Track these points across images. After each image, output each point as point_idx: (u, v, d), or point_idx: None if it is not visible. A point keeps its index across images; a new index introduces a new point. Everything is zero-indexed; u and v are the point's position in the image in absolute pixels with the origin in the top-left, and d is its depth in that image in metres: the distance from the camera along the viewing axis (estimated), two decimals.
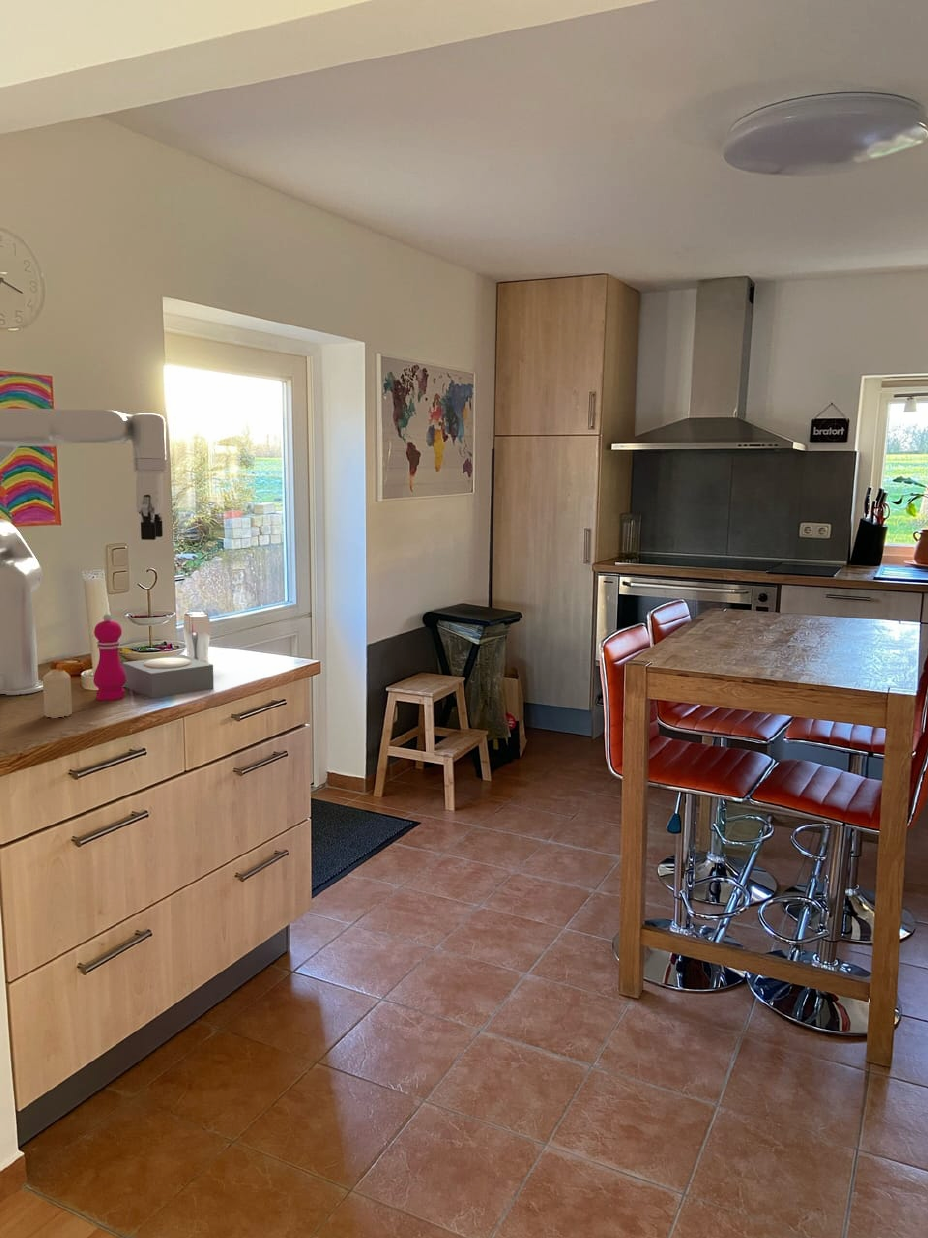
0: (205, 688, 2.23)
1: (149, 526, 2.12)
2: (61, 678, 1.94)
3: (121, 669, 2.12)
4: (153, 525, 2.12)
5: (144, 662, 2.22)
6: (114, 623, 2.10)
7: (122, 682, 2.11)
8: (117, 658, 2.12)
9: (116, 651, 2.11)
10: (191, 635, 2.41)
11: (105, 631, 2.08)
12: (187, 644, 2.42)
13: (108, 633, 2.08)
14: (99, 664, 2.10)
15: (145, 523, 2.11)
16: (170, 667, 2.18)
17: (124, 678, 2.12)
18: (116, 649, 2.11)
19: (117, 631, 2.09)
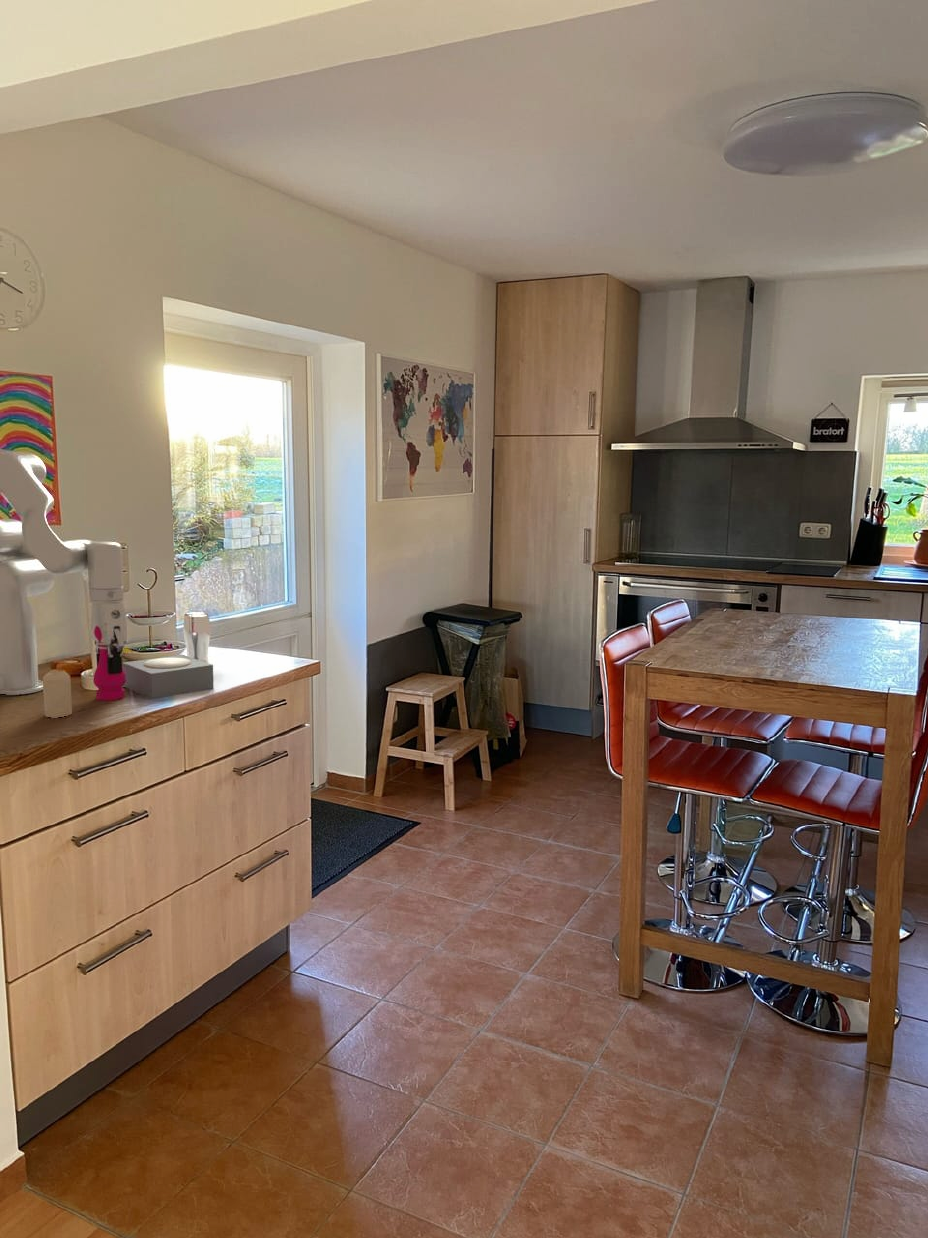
0: (205, 688, 2.23)
1: None
2: (61, 678, 1.94)
3: None
4: None
5: (144, 662, 2.22)
6: None
7: (122, 682, 2.11)
8: None
9: None
10: (191, 635, 2.41)
11: None
12: (187, 644, 2.42)
13: None
14: (99, 664, 2.10)
15: None
16: (170, 667, 2.18)
17: (124, 678, 2.12)
18: None
19: None
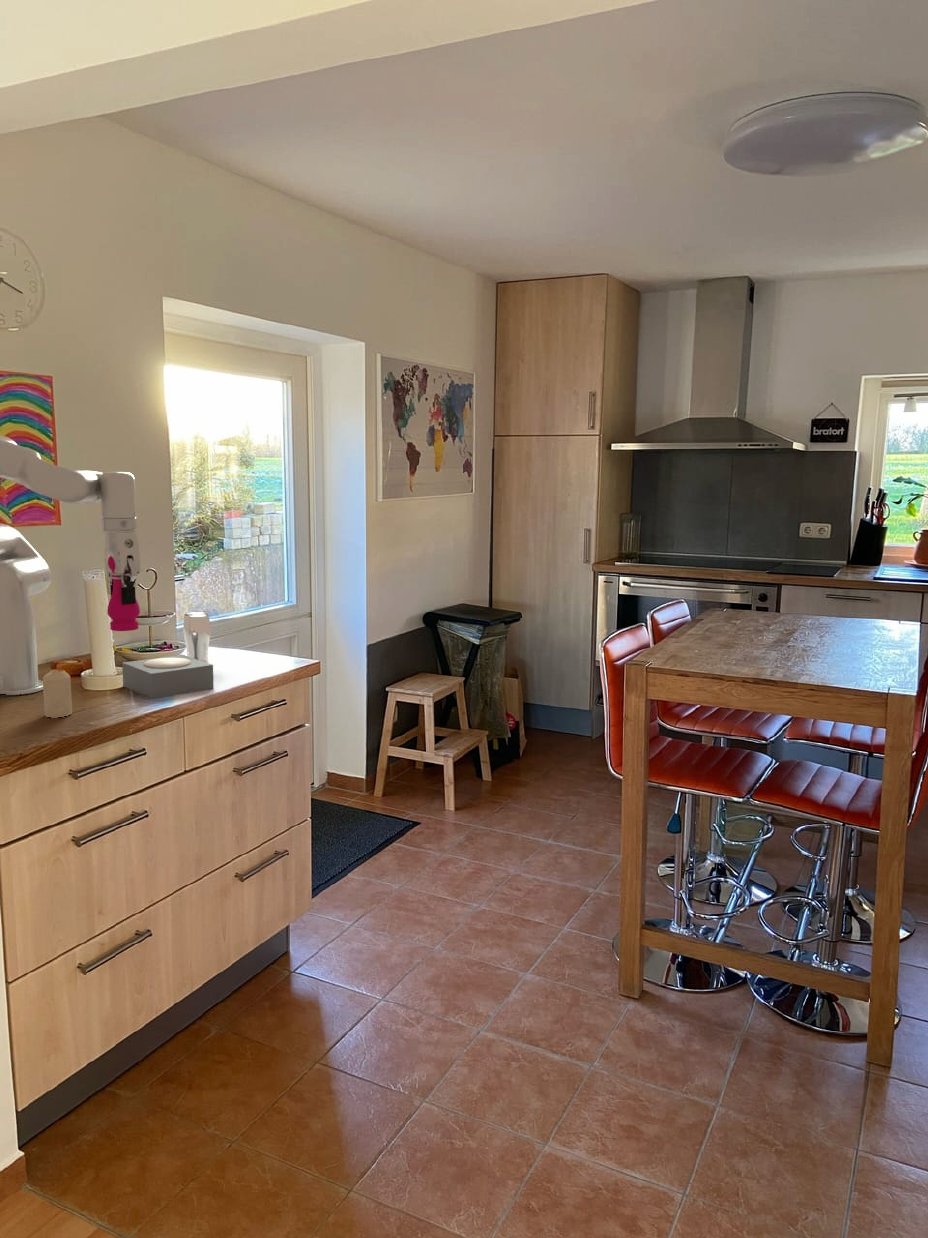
0: (205, 688, 2.23)
1: None
2: (61, 678, 1.94)
3: None
4: None
5: (144, 662, 2.22)
6: None
7: (136, 613, 2.12)
8: None
9: None
10: (191, 635, 2.41)
11: None
12: (187, 644, 2.42)
13: None
14: (113, 595, 2.10)
15: None
16: (170, 667, 2.18)
17: (138, 609, 2.12)
18: None
19: None
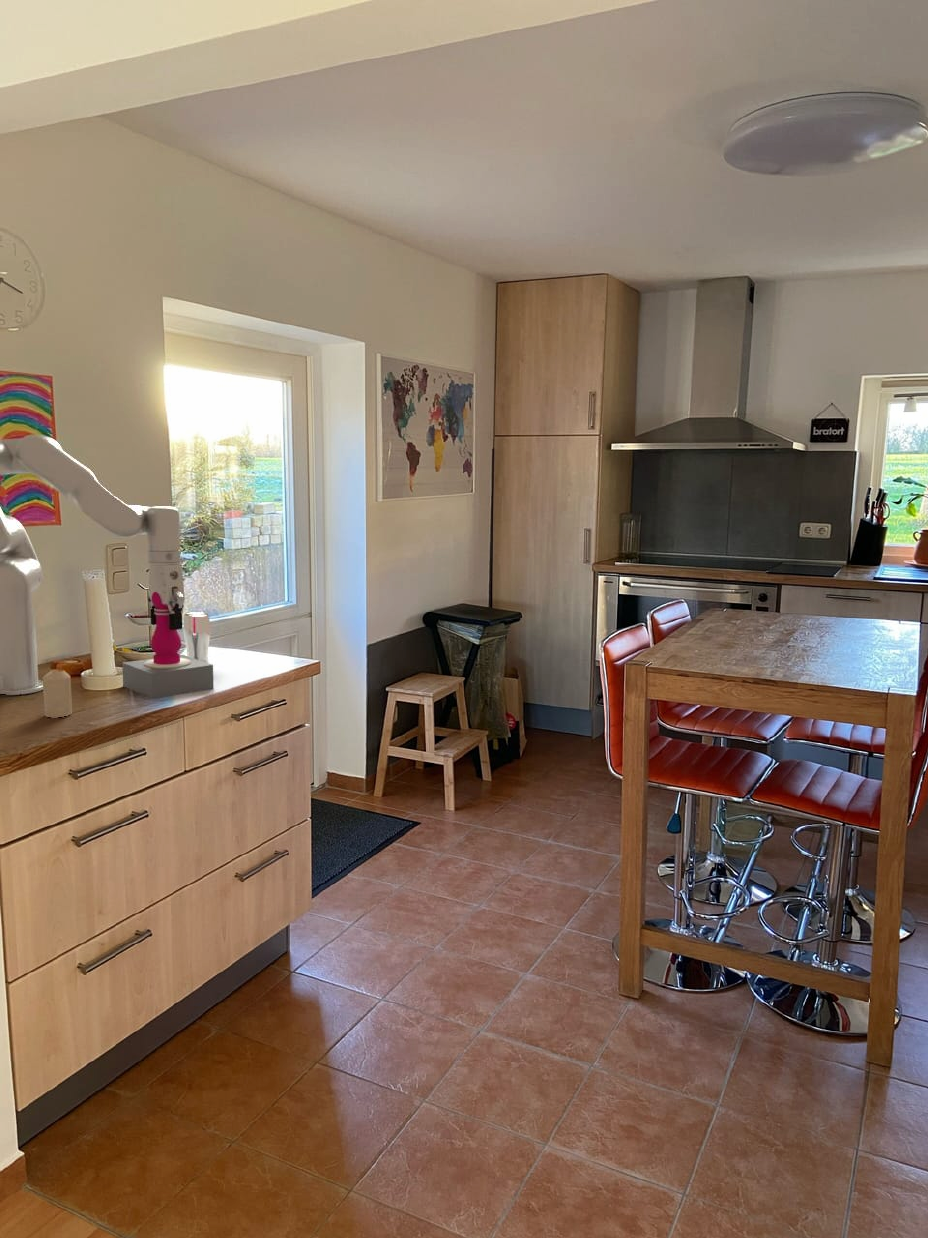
0: (205, 688, 2.23)
1: None
2: (61, 678, 1.94)
3: (177, 634, 2.22)
4: None
5: (144, 662, 2.22)
6: None
7: (178, 647, 2.21)
8: None
9: None
10: (191, 635, 2.41)
11: None
12: (187, 644, 2.42)
13: None
14: (156, 630, 2.20)
15: None
16: (170, 667, 2.18)
17: (180, 643, 2.22)
18: None
19: None
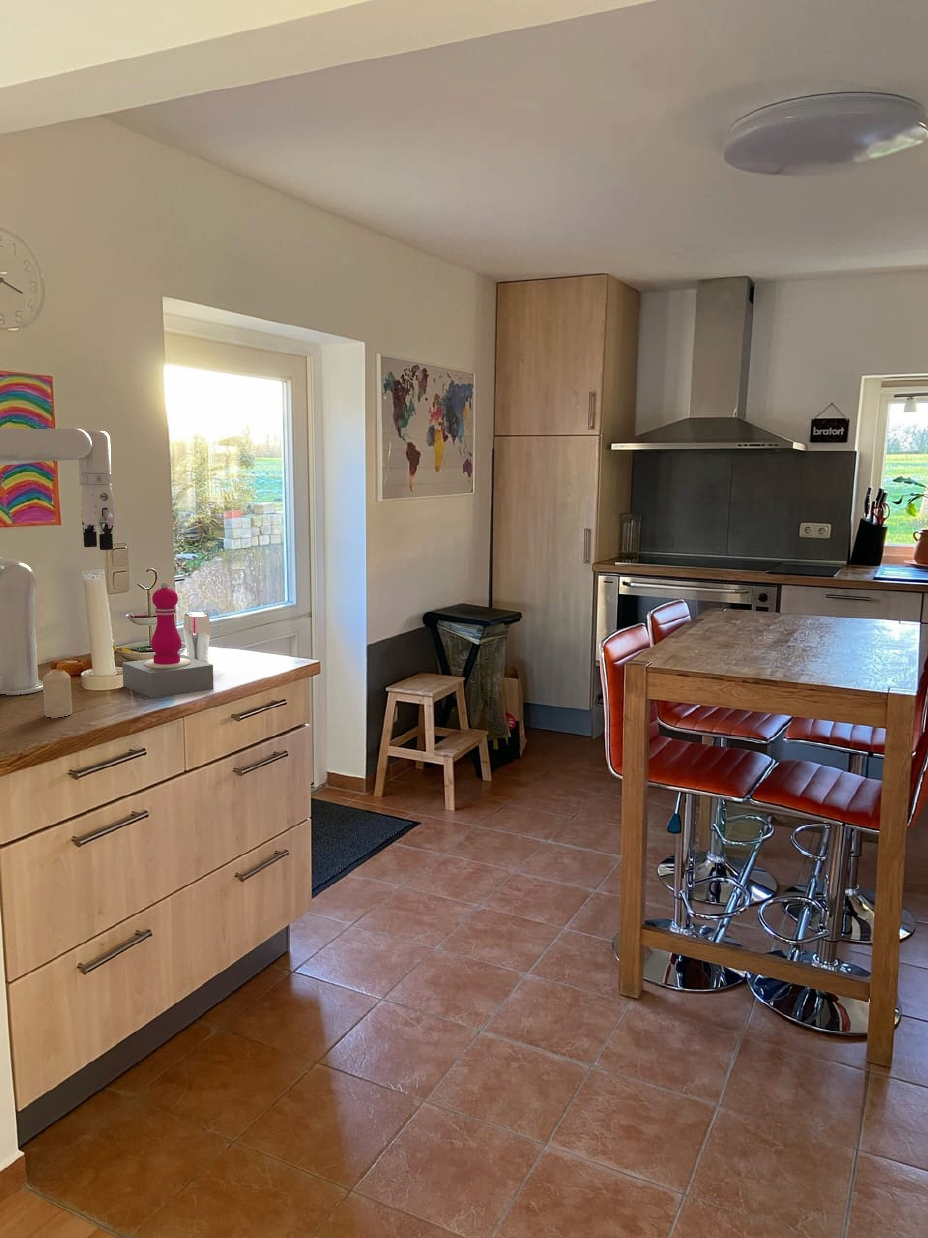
0: (205, 688, 2.23)
1: None
2: (61, 678, 1.94)
3: (177, 635, 2.22)
4: None
5: (144, 662, 2.22)
6: (171, 590, 2.20)
7: (178, 647, 2.21)
8: (173, 624, 2.22)
9: (173, 617, 2.21)
10: (191, 635, 2.41)
11: (163, 598, 2.18)
12: (187, 644, 2.42)
13: (166, 599, 2.18)
14: (157, 629, 2.20)
15: None
16: (170, 667, 2.18)
17: (180, 643, 2.22)
18: (173, 615, 2.21)
19: (174, 598, 2.19)
